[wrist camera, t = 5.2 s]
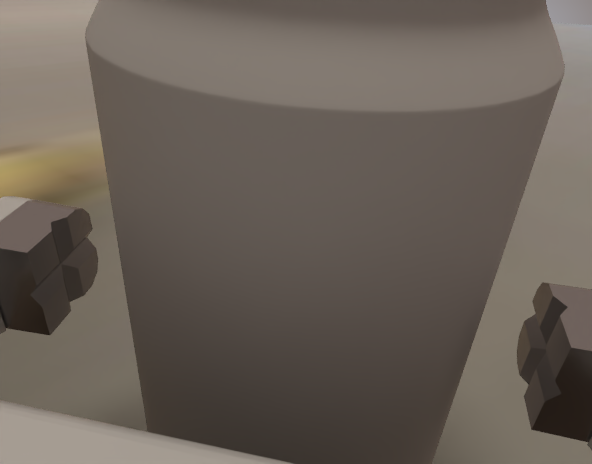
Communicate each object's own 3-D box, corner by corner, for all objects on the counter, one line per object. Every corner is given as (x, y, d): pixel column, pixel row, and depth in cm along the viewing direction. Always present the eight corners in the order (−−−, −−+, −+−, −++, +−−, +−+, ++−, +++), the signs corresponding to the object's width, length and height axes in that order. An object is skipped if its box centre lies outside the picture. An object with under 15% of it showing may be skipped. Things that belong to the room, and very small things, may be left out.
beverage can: (319, 343, 17) (366, -89, 10) (471, 512, 13) (722, -55, 6) (123, 429, 14) (16, -106, 7) (233, 692, 9) (211, -62, 3)
